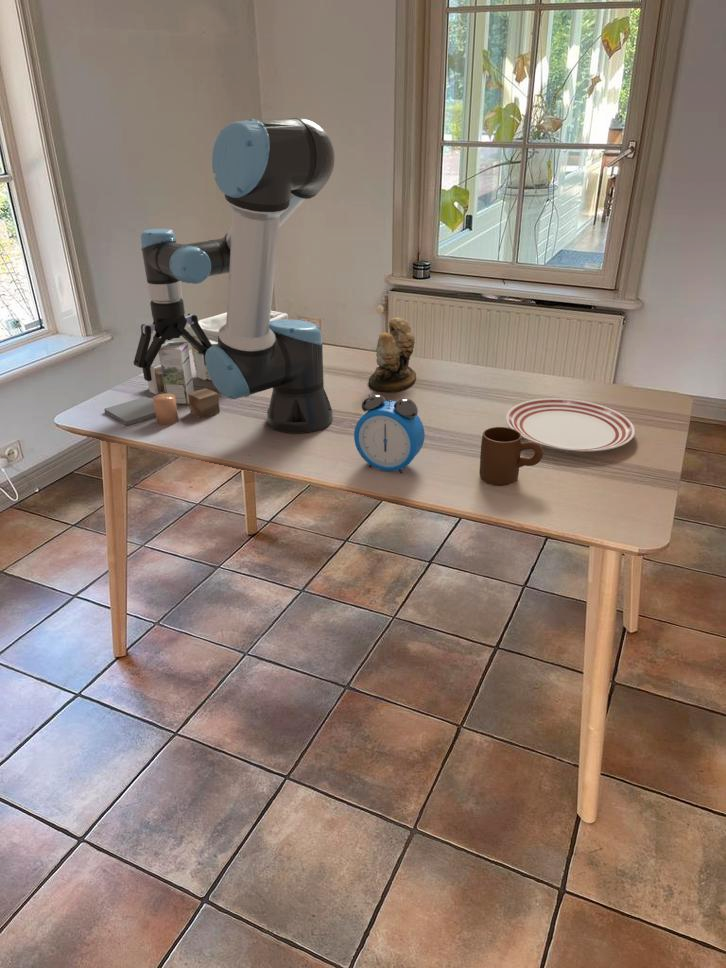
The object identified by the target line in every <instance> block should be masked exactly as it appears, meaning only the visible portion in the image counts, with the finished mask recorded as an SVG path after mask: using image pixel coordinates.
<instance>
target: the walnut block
mask: <svg viewBox="0 0 726 968" xmlns="http://www.w3.org/2000/svg"><path fill="white" fill-rule="evenodd" d="M188 397H189V404H188V405H189V409H190V414H192V415H194V416H196V417H198V418H200V419H202V418H203V419H205V417H206V418H208V416H209V417H212V416H215V415H217V414H216V413H218V414H220V413H221V411H220V409H221V408H220V401H219V394H218V392H215V391H213V390H211V389H209V388H207V387H205V388H202V389H198V390H194V392H192V393H189V394H188ZM219 412H220V413H219ZM214 414H215V415H214ZM211 415H212V416H211Z"/></svg>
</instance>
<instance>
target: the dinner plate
mask: <svg viewBox="0 0 726 968" xmlns="http://www.w3.org/2000/svg"><path fill="white" fill-rule="evenodd" d="M505 421H506V423H507V425H508V428H511V429H514V430H517V431H518V432H520V434H521V436H522V438H523V439H525V440H527V441H533V442H536V443H538V444H539V445H540V446H541V447H545V448H547V449H548V448H549V449H553V450H557V451H563V452H564V451H565V452H573V453H589V452H602V451H607V450H609V451H610V450H612V449H617V448H620V447H622V446H624V445H626V444H628V443H629V442H631V440H633V438H634V437H635V433H636V428H635V426H634V424H633V423H632V422H631V420H630V419H628V417H626V416H625V415H623V413H621V412H618V411H617V410H614V409H612V408H609V407H607V406H605V405H601V404H597V403H594V402H589V401H585V400H578V399H573V398H561V397H560V398H559V397H557V398H556V397H555V398H554V397H552V398H549V397H548V398H545V397H544V398H535V399H531V400H527V401H523V402H520V403H518V404H515V405H514V406H512V407H511V408H510V409H509V410H508V411H507V413H506V415H505Z"/></svg>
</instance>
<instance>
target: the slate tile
mask: <svg viewBox="0 0 726 968" xmlns="http://www.w3.org/2000/svg"><path fill="white" fill-rule="evenodd" d="M105 412H106V413H105ZM104 413H105V414H106V415H108V414H109V415H108V416H110V417H112V418H113V417H114V418H113V419H116V420H117V421H118V422H120V423H122V424H124V425H126V426H129V425H133V424H136V423H140V422H142V421H145V420H149V419H152V418H156V415H155V409H154V402H153V399H151V398H150V397H148V396H143V397H140V398H135V399H133V400H129V401H125V402H122V403H119V404H116V405H112V406H109V407H105V408H104Z"/></svg>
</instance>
